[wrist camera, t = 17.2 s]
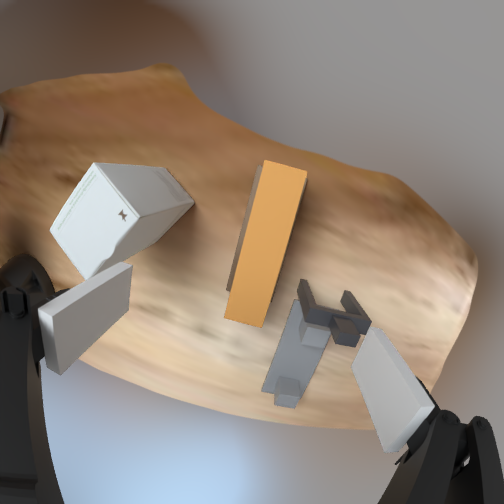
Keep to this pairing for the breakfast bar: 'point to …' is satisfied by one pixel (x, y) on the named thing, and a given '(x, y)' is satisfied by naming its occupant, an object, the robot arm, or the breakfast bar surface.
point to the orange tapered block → (265, 242)
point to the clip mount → (295, 358)
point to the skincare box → (117, 214)
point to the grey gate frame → (335, 316)
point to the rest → (244, 227)
